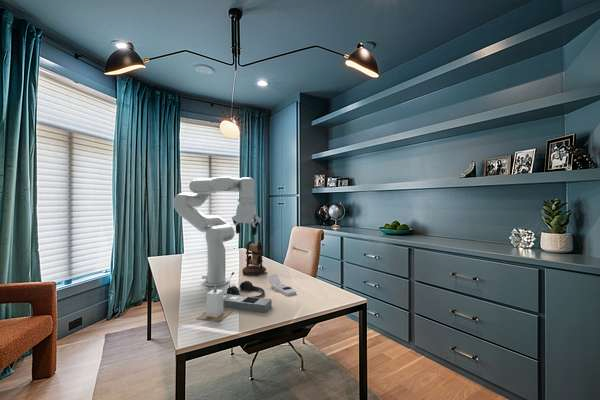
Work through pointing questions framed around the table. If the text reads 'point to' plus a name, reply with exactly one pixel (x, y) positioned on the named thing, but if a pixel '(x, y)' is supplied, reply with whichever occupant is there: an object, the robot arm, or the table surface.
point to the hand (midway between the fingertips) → (246, 234)
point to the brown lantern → (254, 259)
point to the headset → (244, 288)
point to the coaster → (214, 319)
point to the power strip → (246, 303)
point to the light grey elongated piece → (280, 285)
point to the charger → (214, 303)
